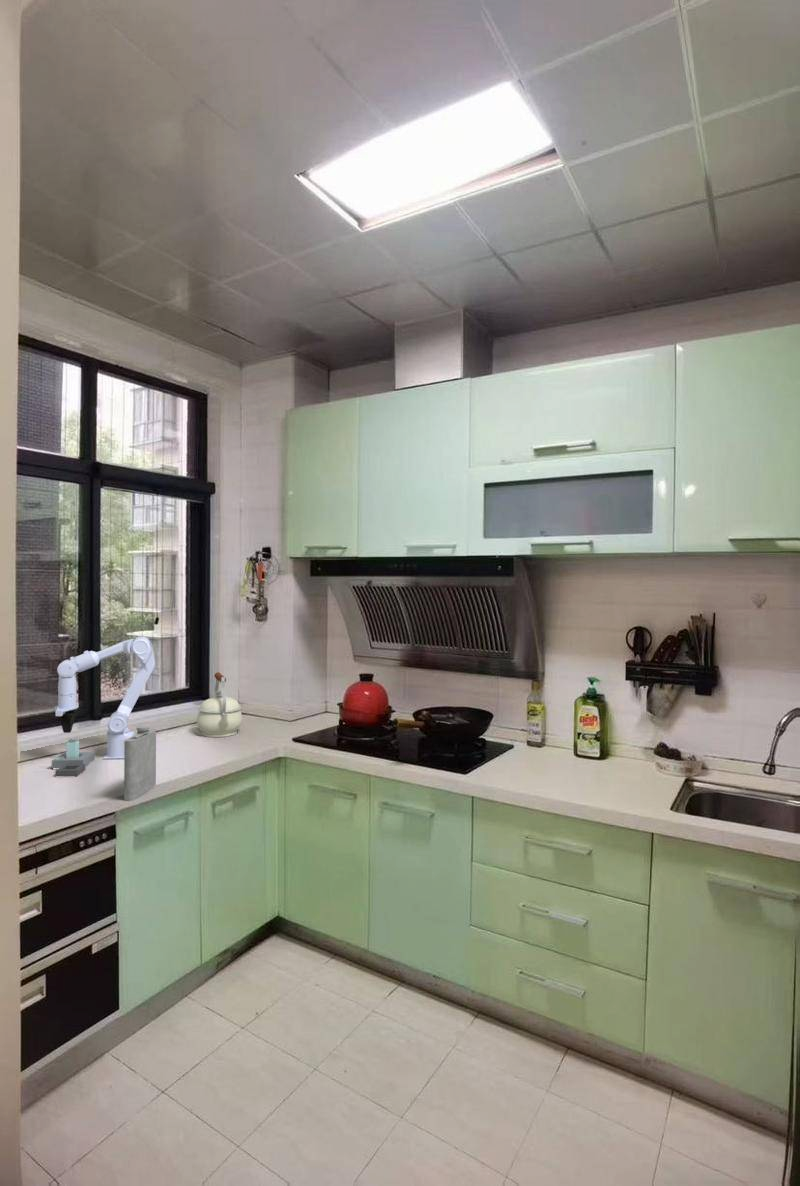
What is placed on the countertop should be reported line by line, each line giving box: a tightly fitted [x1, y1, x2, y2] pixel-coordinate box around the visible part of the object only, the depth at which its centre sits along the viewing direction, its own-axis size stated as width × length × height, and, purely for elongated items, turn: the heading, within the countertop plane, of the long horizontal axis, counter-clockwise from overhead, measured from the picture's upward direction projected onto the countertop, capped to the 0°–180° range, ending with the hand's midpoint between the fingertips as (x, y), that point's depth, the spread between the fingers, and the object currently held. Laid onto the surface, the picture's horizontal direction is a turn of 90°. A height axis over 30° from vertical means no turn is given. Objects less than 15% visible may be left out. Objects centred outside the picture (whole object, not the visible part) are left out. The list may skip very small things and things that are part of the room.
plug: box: [65, 738, 80, 758], centre depth 216 cm, size 3×3×9 cm
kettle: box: [196, 672, 243, 738], centre depth 261 cm, size 25×18×25 cm
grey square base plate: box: [54, 764, 87, 777], centre depth 206 cm, size 7×7×2 cm
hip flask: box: [123, 725, 157, 802], centre depth 189 cm, size 16×4×20 cm, turn 176°
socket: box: [51, 751, 95, 769], centre depth 216 cm, size 10×10×3 cm
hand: (67, 732), depth 221 cm, fingers closed
